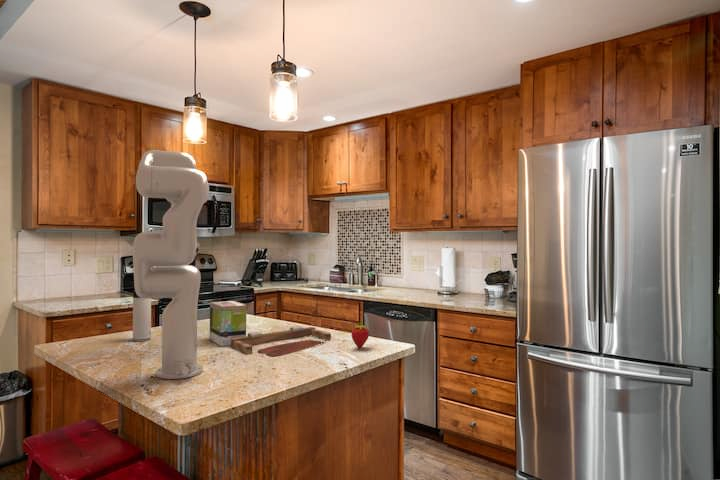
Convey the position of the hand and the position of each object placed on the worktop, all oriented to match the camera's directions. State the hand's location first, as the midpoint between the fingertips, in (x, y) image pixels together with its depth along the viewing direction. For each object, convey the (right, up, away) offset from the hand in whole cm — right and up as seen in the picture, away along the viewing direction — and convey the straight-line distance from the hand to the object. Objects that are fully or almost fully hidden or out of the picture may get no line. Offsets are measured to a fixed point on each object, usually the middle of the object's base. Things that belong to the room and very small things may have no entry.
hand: (182, 266), depth 159 cm
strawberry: (+64, -30, 0) cm, 71 cm away
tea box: (+14, -30, +10) cm, 34 cm away
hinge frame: (+35, -29, +7) cm, 46 cm away
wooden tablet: (+40, -30, +1) cm, 50 cm away
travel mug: (-20, -29, +11) cm, 37 cm away
